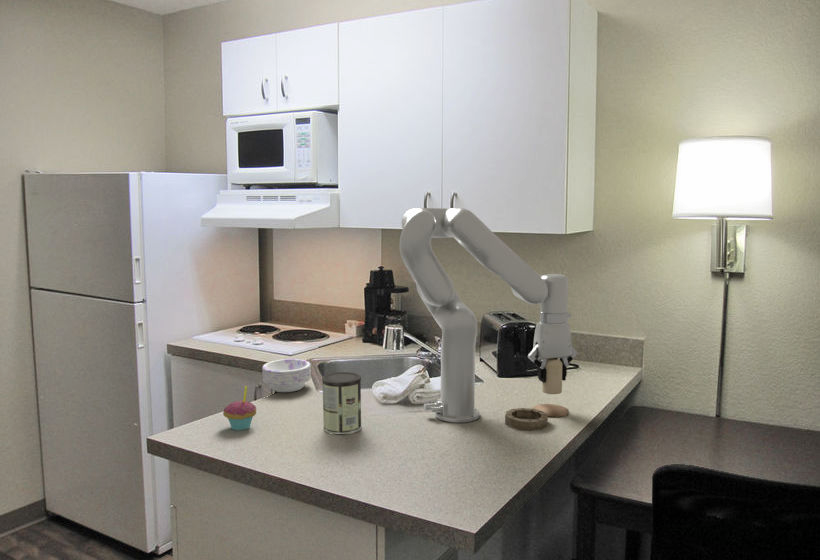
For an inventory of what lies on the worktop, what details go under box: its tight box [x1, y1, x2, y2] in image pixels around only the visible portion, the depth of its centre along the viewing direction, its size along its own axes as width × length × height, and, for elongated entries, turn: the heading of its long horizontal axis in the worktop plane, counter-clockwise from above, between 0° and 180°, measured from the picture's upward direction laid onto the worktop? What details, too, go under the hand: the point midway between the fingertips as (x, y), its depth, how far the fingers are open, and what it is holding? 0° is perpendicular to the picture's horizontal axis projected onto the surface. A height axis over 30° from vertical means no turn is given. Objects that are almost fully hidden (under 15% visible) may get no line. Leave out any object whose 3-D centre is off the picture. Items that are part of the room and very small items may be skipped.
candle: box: [541, 358, 563, 395], centre depth 193 cm, size 6×6×10 cm
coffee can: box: [321, 371, 362, 435], centre depth 179 cm, size 10×10×14 cm
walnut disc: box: [532, 403, 569, 418], centre depth 194 cm, size 10×10×1 cm
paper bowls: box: [261, 358, 312, 393], centre depth 215 cm, size 15×15×8 cm
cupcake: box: [222, 383, 257, 431], centre depth 180 cm, size 9×8×12 cm
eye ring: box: [504, 407, 549, 432], centre depth 184 cm, size 11×11×2 cm
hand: (552, 379), depth 193 cm, fingers closed on candle, 5 cm apart
